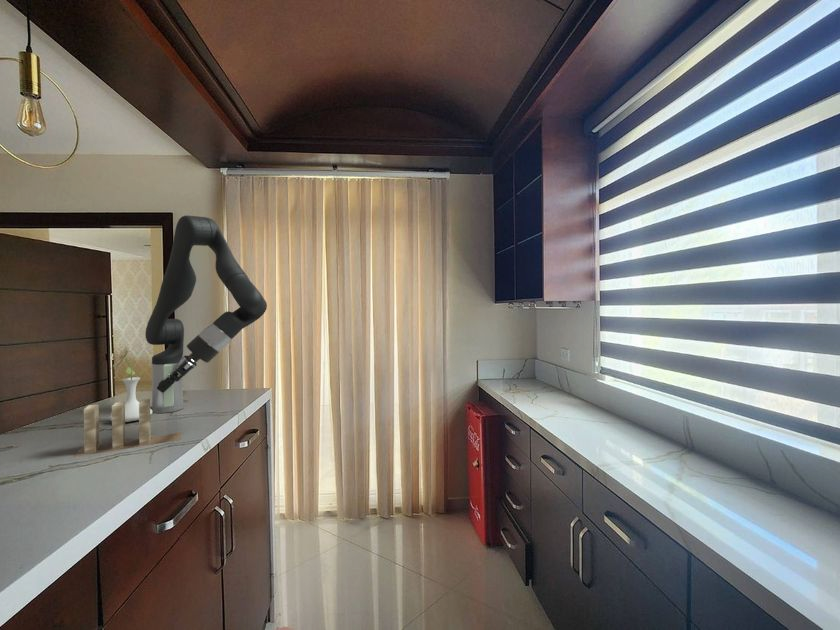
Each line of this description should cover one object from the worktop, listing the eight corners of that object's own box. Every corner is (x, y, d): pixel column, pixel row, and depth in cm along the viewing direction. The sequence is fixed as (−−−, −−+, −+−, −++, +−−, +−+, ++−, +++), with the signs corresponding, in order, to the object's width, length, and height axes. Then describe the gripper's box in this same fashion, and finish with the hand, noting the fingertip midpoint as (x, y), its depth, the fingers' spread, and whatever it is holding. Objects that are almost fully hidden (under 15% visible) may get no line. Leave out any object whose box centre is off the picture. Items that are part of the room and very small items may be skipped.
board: (73, 460, 91) (73, 456, 91) (81, 451, 97) (81, 447, 97) (180, 443, 102) (180, 439, 102) (181, 436, 108) (181, 432, 108)
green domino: (164, 406, 101) (163, 366, 101) (165, 402, 105) (164, 364, 105) (172, 405, 102) (172, 365, 102) (173, 401, 106) (173, 363, 106)
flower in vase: (115, 417, 127) (114, 344, 127) (156, 413, 132) (155, 342, 131) (102, 428, 115) (100, 348, 115) (147, 423, 120) (146, 346, 120)
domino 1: (112, 449, 95) (111, 406, 95) (115, 443, 100) (115, 402, 100) (122, 447, 97) (121, 405, 96) (125, 441, 101) (124, 401, 101)
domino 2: (139, 445, 98) (138, 403, 98) (141, 439, 103) (141, 399, 102) (148, 443, 99) (148, 402, 99) (150, 438, 104) (150, 398, 103)
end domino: (84, 453, 93) (83, 409, 92) (89, 447, 97) (88, 405, 97) (95, 452, 94) (94, 408, 93) (99, 445, 98) (98, 404, 98)
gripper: (198, 332, 113) (150, 376, 107) (199, 335, 101) (145, 384, 95) (218, 349, 116) (173, 392, 110) (221, 353, 104) (170, 402, 98)
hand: (160, 388), depth 103 cm, fingers closed on green domino, 5 cm apart
